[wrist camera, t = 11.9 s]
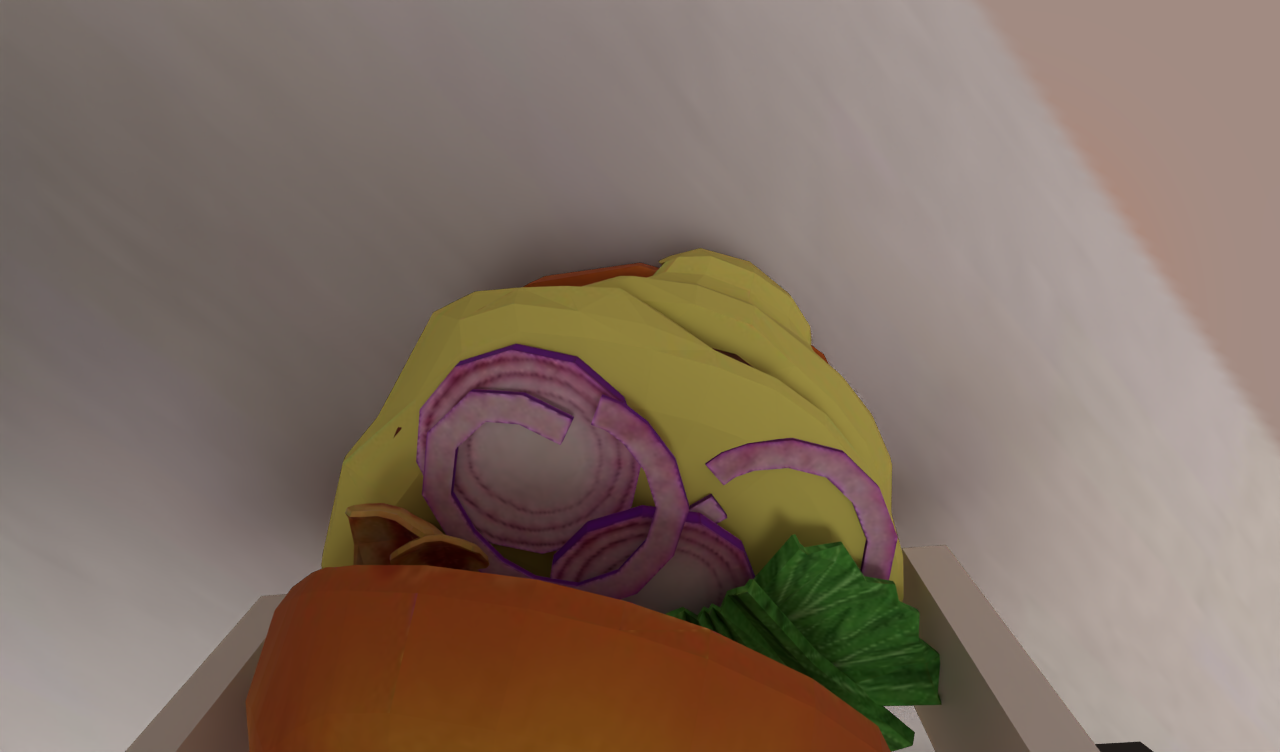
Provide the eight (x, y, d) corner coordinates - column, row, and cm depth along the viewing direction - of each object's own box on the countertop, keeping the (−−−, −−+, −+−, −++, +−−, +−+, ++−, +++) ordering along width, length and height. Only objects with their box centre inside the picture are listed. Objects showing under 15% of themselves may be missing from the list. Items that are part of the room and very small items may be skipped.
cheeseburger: (978, 353, 13) (1493, 1112, 4) (719, 630, 18) (718, 1186, 10) (508, 116, 11) (-145, 568, 3) (385, 499, 17) (51, 1025, 8)
